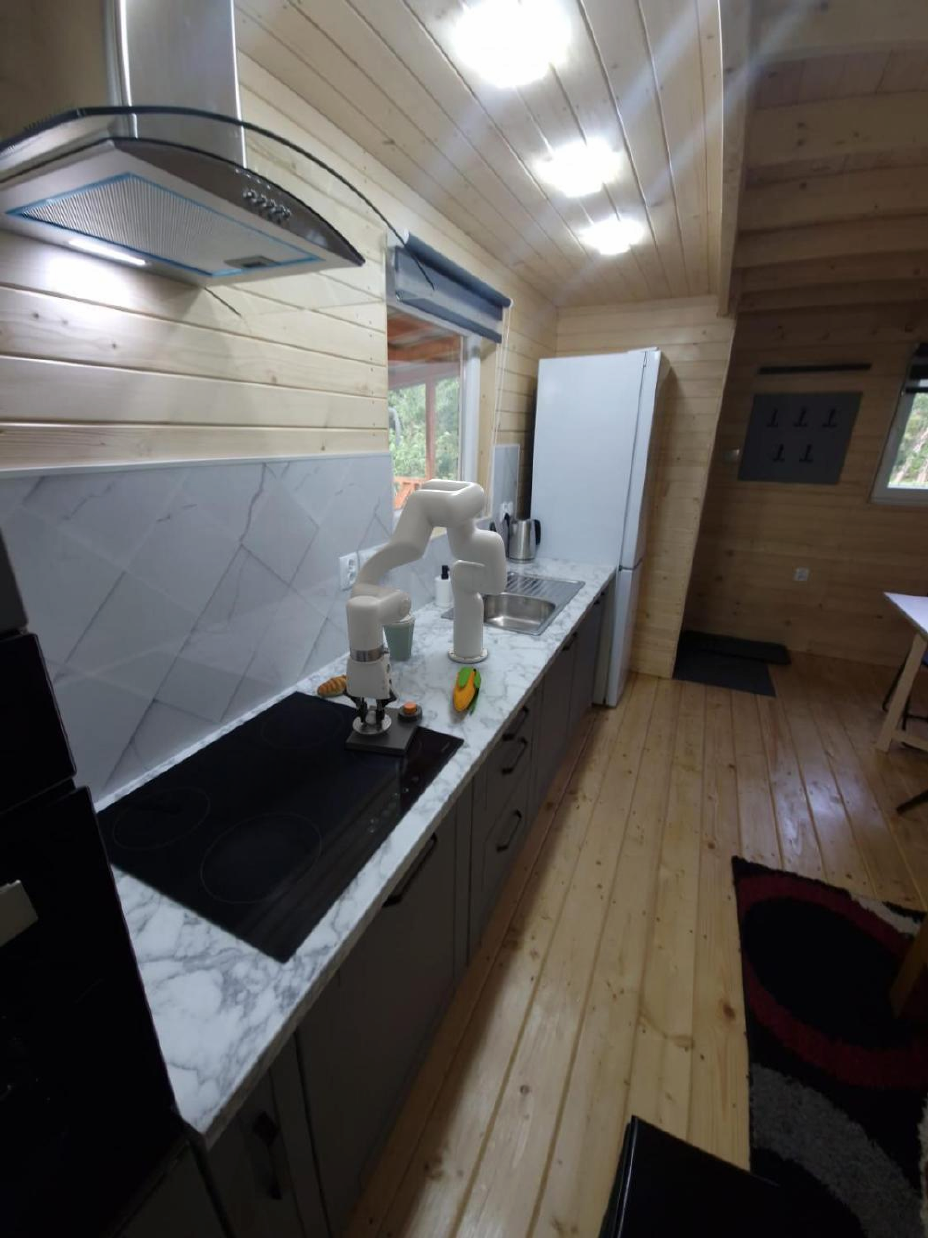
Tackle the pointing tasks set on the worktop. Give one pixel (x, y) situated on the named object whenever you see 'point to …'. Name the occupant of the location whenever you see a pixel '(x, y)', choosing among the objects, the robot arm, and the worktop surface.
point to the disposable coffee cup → (400, 637)
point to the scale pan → (371, 726)
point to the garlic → (371, 717)
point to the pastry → (332, 686)
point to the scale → (389, 733)
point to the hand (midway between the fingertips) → (372, 720)
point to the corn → (466, 688)
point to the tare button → (409, 707)
